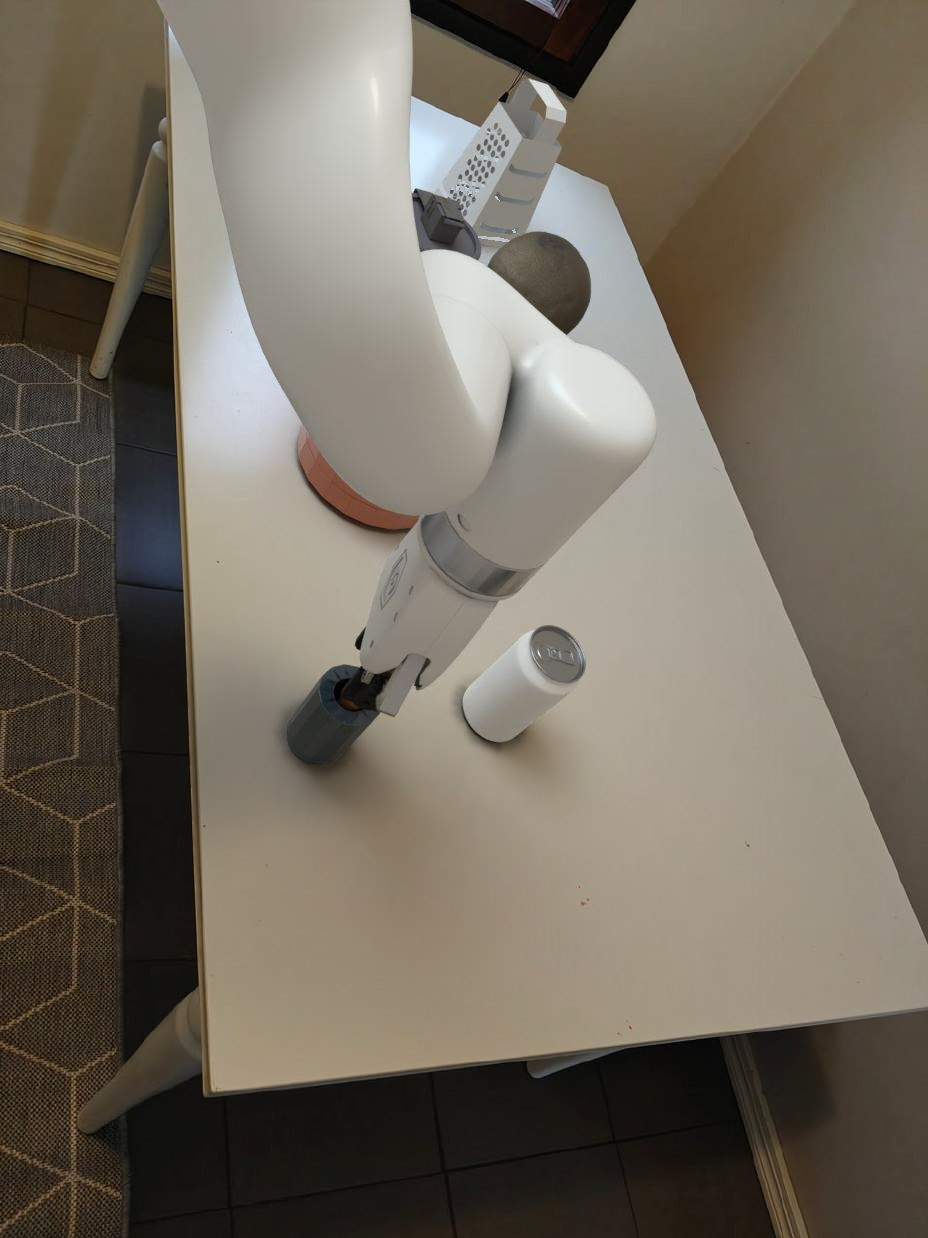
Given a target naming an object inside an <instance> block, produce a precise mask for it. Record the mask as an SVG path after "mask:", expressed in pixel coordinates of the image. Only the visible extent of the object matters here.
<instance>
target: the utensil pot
mask: <svg viewBox="0 0 928 1238" xmlns="http://www.w3.org/2000/svg"><path fill="white" fill-rule="evenodd" d="M359 668H360V666H356V665H351V664H347V663H346V664H340V665H336V666H332V667H330V668H329V669H328V670H327V671H326V672H325V673H324V674H322V675H321V677H320V678H319V680H318V681H317V682H316V683H315V685H314V686H313V687H312V689H311V690H310V691H309V693H308V694H307V695H306V697H305V698H304V699H303V700H302V702H301V704H300V705H299V706H298V708H297V709H296V710H295V711H294V713H293V714H292V716H291V717H290V720H289V721H288V724H287V727H286V740H287V743H288V746H289V747H290V750H291V751H292V752H293V754H294V755H295V756H296V757H297V758H298V759H300V760H301V761H303V762H304V763H307V764H310V765H312V766H313V765H314V766H328V765H330V764H333V763H335V762H336V761H337V760H338V759H340V758H341V757H342V755H343V754H344V753H345V752H347V750H348V749H350V747H351V746H352V745H353V744H354V743H355V741H356V740H357V739H358V738H359V737H360V736H361V735H362V734H363V733H364V732H365V731H366V730H367V728H369V726H370V725H372V723H373V722H374V721H375V720H376V719H377V717H379V716H380V714H381V712H375V711H373V710H371V711H368V710H364V709H361V710H360V711H357V712H351V711H347V710H345V709H343V708H342V707H340V706H339V704H338V703H337V700H338V699H339V698H340V697H341V696H340V695H341V692H342V689H343V687H344V686H345V685H346V684H347V683H348V681H349V680H350V679H351V678H352V676H353V675H354V674H355V673H356V671H357V670H358V669H359Z"/></svg>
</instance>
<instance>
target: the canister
mask: <svg viewBox="0 0 928 1238" xmlns="http://www.w3.org/2000/svg"><path fill="white" fill-rule="evenodd" d="M412 200H413V210H414V218H415V225H416V231H417V237H418V243H419V248H420V252H422V251H427V250H434V249H439V250H450V251H455V252H459V253H461V254H464V255H467V256H469V257H471V258H473V259H475V260H477V261H479V260H480V258H481V256H482V252H483V251H482V250H483V249H482V245H481V243H480V240H479V238H478V236H477V234H476V232H475V231H474V229H473V228H472V227H471V226H470V224H469V223H468V222H467V221H466V220H465V219H464V217H463V216H464V214H463V215H462V213H461V211H462V210H463V209H462V205H460V201H459V200H457V201H456V200H452V199H451V198H445V197H442V196H438V195H436V194H435V193H433V192H430V191H427V190H423V189H420V188H417V187H415V188H414V190H413V192H412Z"/></svg>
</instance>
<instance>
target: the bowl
mask: <svg viewBox="0 0 928 1238" xmlns="http://www.w3.org/2000/svg"><path fill="white" fill-rule="evenodd" d="M297 456H298V457H297V458H298V459H299V462H300V465H301V467H302V470H303V471H304V474H305V476H306V479H307V480H308V481H309V482H310V484H311V485H312V486H313V487H314V489H315V490H316V491H317V492H318V494H319V495H320V496H321V497H322V498H323V499H324V500H325V501H327V502H328V503H329V504H331V505H332V506H333V507H334V508H335V509H337V510H338V511H339V512H341V513H342V514H343V515H345V516H348V517H349V518H352V519H354V520H356V521H358V522H361V523H363V524H365V525H368V526H372V527H378V528H383V529H386V530H403V529H412V528H413V526H414V525H415V524H416V523H417V522H418V519H419V516H420V515H419V516H412V515H405V514H399V513H395V512H392V511H389V510H386V509H383V508H381V507H379V506H377V505H375V504H373V503H371V502H369V501H368V500H366V499H365V498H364V497H362V496H361V495H359V494H358V493H356V492H355V491H354V490H353V489H352V488H351V487H350V486H349V485H348V484H346V483H345V482H344V481H343V480H342V479H341V478H340V477H339V476H338V474H337V473H336V472H335V471H334V469H333V468H332V467H331V466H330V465H329V464H328V462H327V461H326V460H325V458H324V457H323V456H322V454H321V453H320V451H319V450H318V448H317V447H316V445H315V444H314V442H313V440H312V439H311V437H310V436H309V434H308V432H307V431H306V429H305V428H304V426H303V424H302V425H301V427H300V430H299V433H298V435H297Z"/></svg>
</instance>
